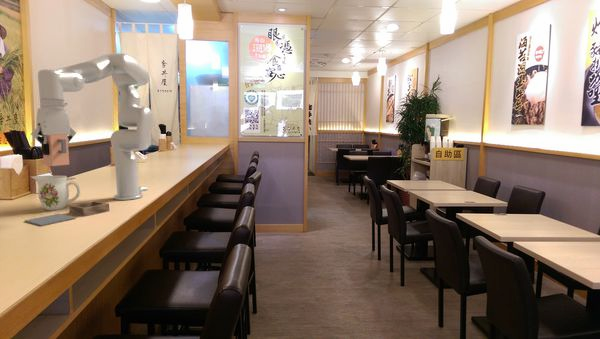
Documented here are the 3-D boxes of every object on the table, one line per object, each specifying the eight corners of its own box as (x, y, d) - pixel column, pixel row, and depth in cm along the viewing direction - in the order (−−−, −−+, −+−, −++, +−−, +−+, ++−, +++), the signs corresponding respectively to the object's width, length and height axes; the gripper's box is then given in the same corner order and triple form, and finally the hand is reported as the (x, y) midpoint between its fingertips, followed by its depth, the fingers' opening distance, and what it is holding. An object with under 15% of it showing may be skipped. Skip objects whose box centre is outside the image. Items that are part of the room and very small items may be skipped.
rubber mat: (58, 214, 160) (58, 213, 160) (75, 218, 154) (75, 217, 154) (24, 221, 150) (24, 220, 150) (41, 226, 144) (41, 224, 144)
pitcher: (77, 210, 168) (74, 176, 166) (28, 212, 165) (24, 178, 163) (85, 204, 179) (82, 173, 177) (39, 206, 175) (36, 174, 173)
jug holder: (94, 207, 172) (94, 200, 171) (109, 210, 166) (109, 203, 166) (69, 213, 163) (68, 205, 163) (84, 216, 158) (83, 208, 157)
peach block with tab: (60, 163, 157) (58, 134, 156) (74, 164, 152) (71, 134, 151) (44, 165, 152) (41, 135, 150) (57, 166, 147) (55, 135, 146)
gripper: (70, 105, 159) (73, 152, 161) (21, 104, 145) (25, 155, 147) (81, 105, 155) (84, 153, 158) (31, 103, 141) (36, 156, 143)
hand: (55, 153), depth 152 cm, fingers closed on peach block with tab, 6 cm apart
